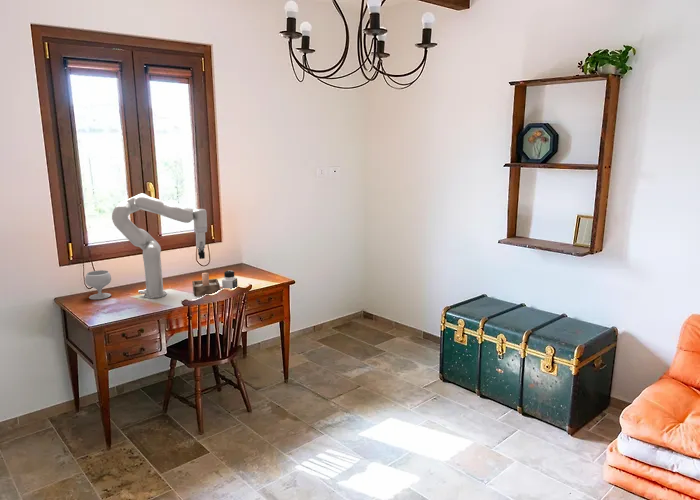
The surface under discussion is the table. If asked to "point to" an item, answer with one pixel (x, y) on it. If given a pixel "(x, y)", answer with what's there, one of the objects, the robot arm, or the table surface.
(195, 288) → the bore box
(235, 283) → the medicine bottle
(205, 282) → the peg
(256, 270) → the table surface
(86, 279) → the chalice
